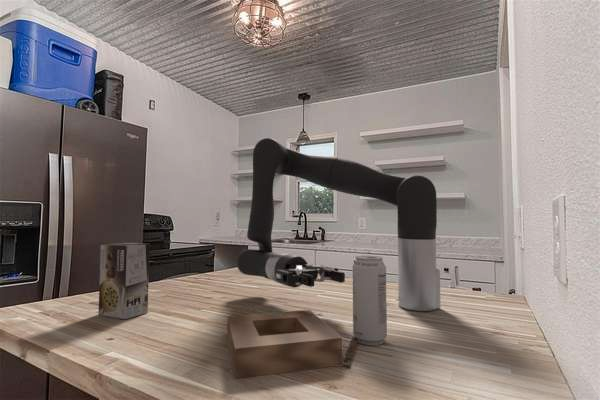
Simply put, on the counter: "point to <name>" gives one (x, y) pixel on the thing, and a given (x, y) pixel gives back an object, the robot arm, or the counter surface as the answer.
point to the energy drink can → (369, 300)
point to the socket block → (281, 343)
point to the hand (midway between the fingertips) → (329, 279)
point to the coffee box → (124, 280)
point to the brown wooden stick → (349, 353)
